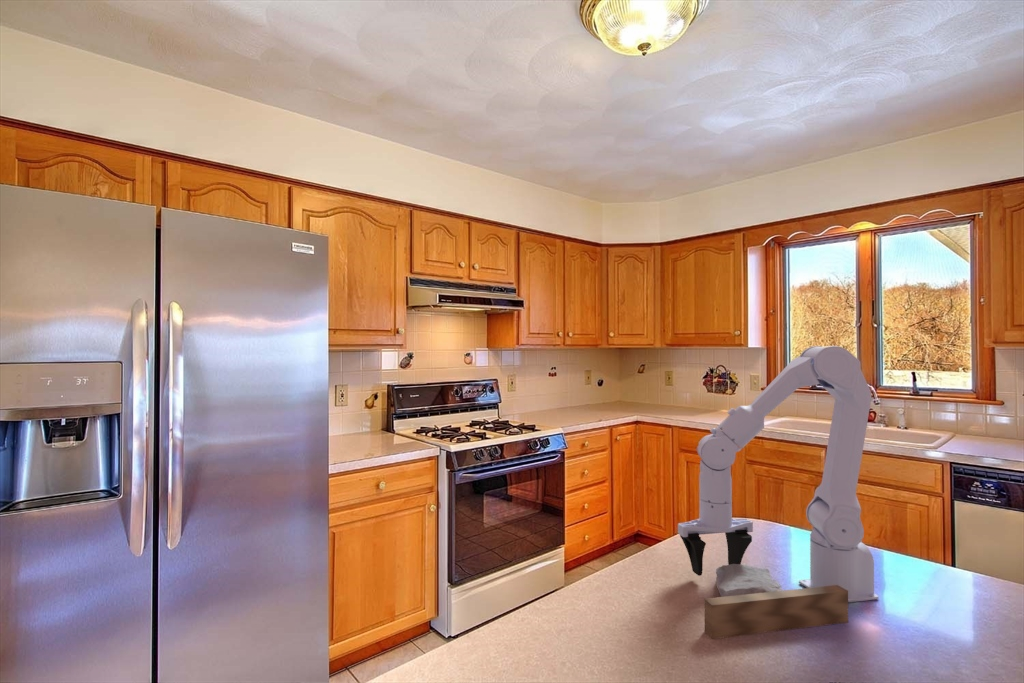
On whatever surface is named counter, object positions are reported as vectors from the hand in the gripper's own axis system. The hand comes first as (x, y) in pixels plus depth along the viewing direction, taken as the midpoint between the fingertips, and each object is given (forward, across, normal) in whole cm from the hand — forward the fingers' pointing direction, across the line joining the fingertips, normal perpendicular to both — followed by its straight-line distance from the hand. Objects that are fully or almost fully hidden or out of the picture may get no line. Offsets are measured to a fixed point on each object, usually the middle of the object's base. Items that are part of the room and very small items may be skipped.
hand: (715, 571), depth 94 cm
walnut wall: (+1, 0, +16) cm, 16 cm away
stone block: (+2, -2, +7) cm, 7 cm away
